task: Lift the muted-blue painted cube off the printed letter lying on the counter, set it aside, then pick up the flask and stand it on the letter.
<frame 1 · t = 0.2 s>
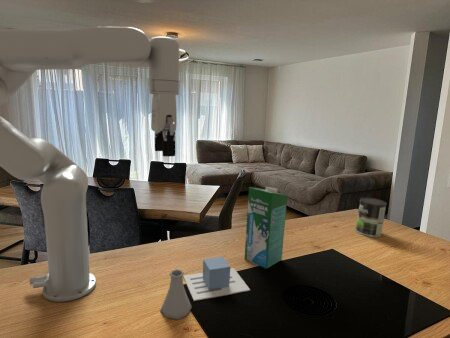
hand: (164, 153, 81), 36 cm above the kitchen counter, tool pointing down, fingers open, 9 cm apart
flask: (176, 310, 73), on the kitchen counter
blue cube: (215, 282, 85), resting on letter
milk carton: (262, 259, 101), on the kitchen counter
coffee can: (368, 232, 129), on the kitchen counter
letter: (215, 283, 85), on the kitchen counter
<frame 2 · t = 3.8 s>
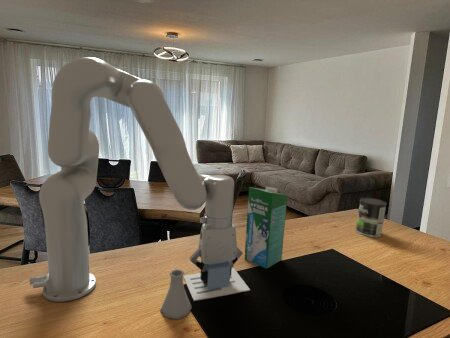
hand: (215, 279, 85), 1 cm above the kitchen counter, tool pointing down, fingers closed on blue cube, 6 cm apart
blue cube: (215, 282, 85), resting on letter, touching gripper
everything else where it was.
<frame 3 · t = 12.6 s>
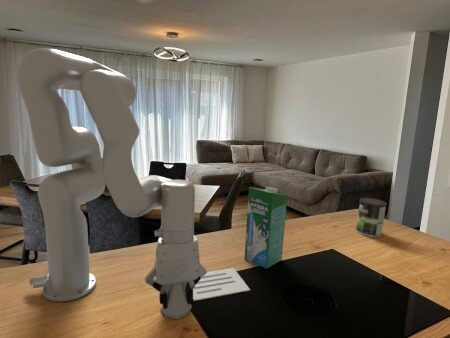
hand: (176, 302, 73), 2 cm above the kitchen counter, tool pointing down, fingers closed on flask, 5 cm apart
flask: (176, 310, 73), on the kitchen counter, touching gripper
blue cube: (174, 284, 84), on the kitchen counter
everything else where it was.
when the fingers open (3 cm above the kitchen counter, at t = 18.0 s): flask stays where it is, resting on letter.
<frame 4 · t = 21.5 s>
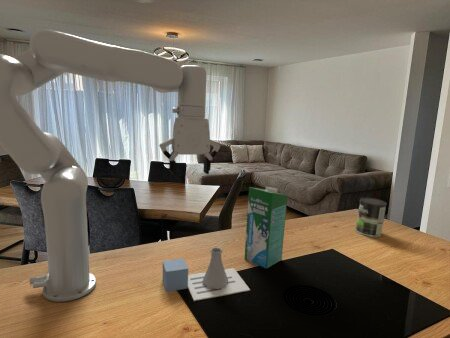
hand: (190, 173, 85), 30 cm above the kitchen counter, tool pointing down, fingers open, 9 cm apart
flask: (215, 283, 85), resting on letter
everything else where it was.
at the end: flask inside the target area on the letter (0.2 cm from its centre), point 0.1 cm above the letter's base; flask tilted 0°; blue cube touching kitchen counter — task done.
